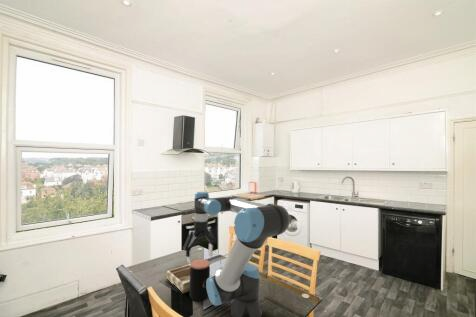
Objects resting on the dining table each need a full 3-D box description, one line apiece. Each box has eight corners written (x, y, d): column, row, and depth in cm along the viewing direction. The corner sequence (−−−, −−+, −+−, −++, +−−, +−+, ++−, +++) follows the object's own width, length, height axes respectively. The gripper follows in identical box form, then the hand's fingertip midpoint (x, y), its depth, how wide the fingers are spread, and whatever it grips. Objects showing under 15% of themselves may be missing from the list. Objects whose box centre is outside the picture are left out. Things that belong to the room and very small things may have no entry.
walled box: (206, 283, 141) (206, 275, 141) (182, 293, 131) (182, 284, 131) (189, 271, 156) (189, 263, 156) (166, 279, 146) (167, 271, 146)
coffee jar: (205, 303, 122) (206, 268, 122) (186, 300, 125) (187, 266, 125) (211, 292, 133) (212, 260, 133) (193, 289, 135) (194, 258, 135)
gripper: (215, 215, 140) (214, 251, 140) (176, 222, 123) (175, 262, 123) (223, 218, 134) (222, 255, 134) (183, 225, 118) (182, 268, 118)
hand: (200, 259), depth 129 cm, fingers open, 13 cm apart
